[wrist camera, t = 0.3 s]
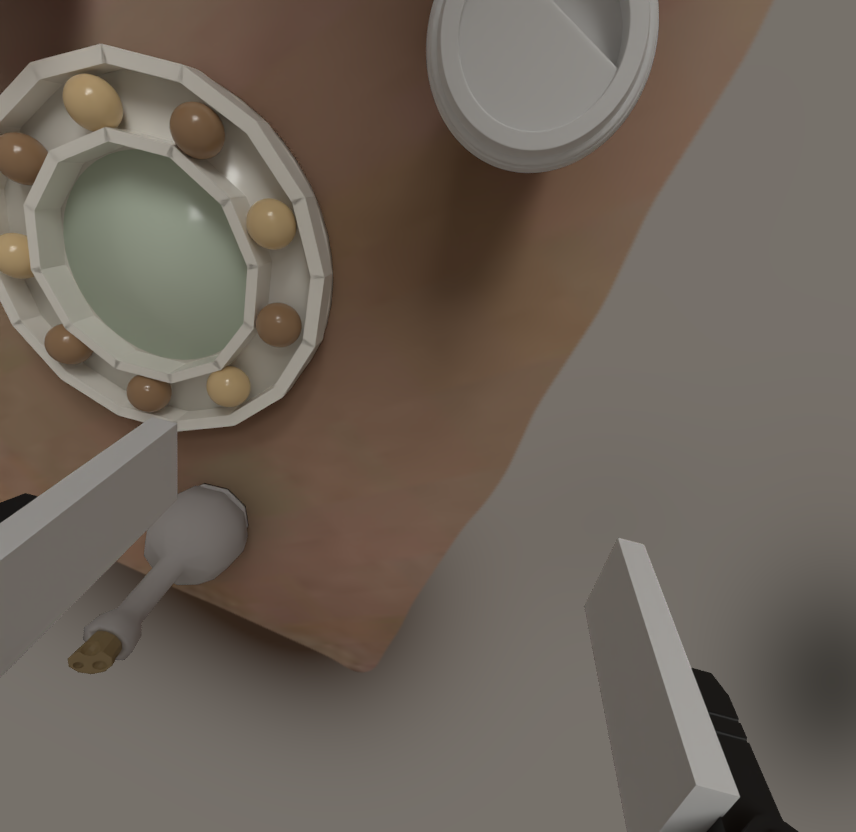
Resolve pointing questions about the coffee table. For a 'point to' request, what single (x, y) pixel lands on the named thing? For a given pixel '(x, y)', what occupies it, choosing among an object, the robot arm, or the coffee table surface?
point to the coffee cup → (538, 75)
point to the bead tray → (157, 239)
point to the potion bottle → (169, 568)
